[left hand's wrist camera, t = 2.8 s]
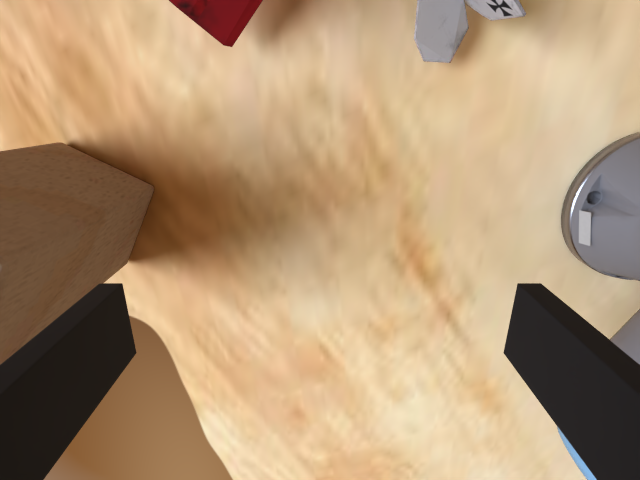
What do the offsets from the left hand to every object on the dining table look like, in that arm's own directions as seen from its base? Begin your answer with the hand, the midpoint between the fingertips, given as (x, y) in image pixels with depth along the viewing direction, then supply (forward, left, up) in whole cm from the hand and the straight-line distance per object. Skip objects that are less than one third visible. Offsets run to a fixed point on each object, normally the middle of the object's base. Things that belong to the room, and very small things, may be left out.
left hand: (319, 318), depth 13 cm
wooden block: (+22, -10, -27) cm, 36 cm away
